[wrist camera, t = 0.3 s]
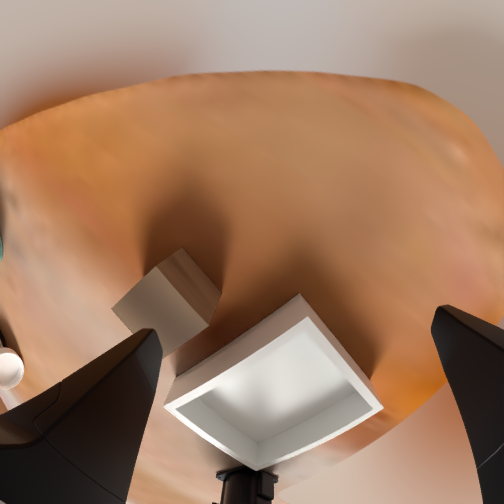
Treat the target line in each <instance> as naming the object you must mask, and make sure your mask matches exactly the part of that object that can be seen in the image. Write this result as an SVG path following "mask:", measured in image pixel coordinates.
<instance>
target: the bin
mask: <svg viewBox="0 0 504 504" xmlns="http://www.w3.org/2000/svg"><path fill="white" fill-rule="evenodd" d="M163 407H164V408H165V409H167V410H168V411H169V412H170V413H171V414H173V415H174V416H175V417H176V418H178V419H179V420H180V421H181V422H183V423H184V424H185V425H187V426H188V427H189V428H191V429H192V430H193V431H195V432H196V433H197V434H199V435H200V436H202V437H203V438H204V439H206V440H207V441H209V442H210V443H212V444H213V445H215V446H216V447H218V448H219V449H221V450H222V451H224V452H225V453H227V454H228V455H230V456H231V457H233V458H235V459H236V460H238V461H240V462H241V463H243V464H245V465H246V466H248V467H250V468H252V469H253V470H255V471H258V470H260V469H263V468H266V467H269V466H271V465H274V464H277V463H279V462H282V461H284V460H287V459H289V458H292V457H294V456H296V455H299V454H301V453H303V452H305V451H308V450H310V449H312V448H314V447H316V446H318V445H320V444H322V443H324V442H326V441H328V440H330V439H332V438H334V437H336V436H338V435H340V434H342V433H343V432H345V431H347V430H349V429H350V428H352V427H354V426H356V425H357V424H359V423H361V422H362V421H364V420H366V419H367V418H369V417H371V416H372V415H374V414H375V413H377V412H378V411H380V410H381V409H383V408H384V407H383V405H382V403H381V401H380V399H379V397H378V395H377V393H376V391H375V389H374V387H373V385H372V384H371V382H370V380H369V379H368V377H367V376H366V375H365V374H364V372H363V371H362V370H361V369H360V367H359V366H358V365H357V364H356V362H355V361H354V360H353V359H352V357H351V356H350V355H349V354H348V352H347V351H346V350H345V349H344V347H343V346H342V345H341V344H340V342H339V341H338V340H337V339H336V337H335V336H334V335H333V334H332V332H331V331H330V330H329V329H328V328H327V326H326V325H325V324H324V323H323V321H322V320H321V319H320V318H319V316H318V315H317V314H316V313H315V311H314V310H313V309H312V308H311V307H310V305H309V304H308V303H307V302H306V300H305V299H304V298H303V297H302V295H301V294H300V293H299V294H298V295H296V296H295V297H294V298H292V299H291V300H290V301H288V302H287V303H285V304H284V305H283V306H281V307H280V308H279V309H277V310H276V311H274V312H273V313H272V314H270V315H269V316H268V317H266V318H265V319H263V320H262V321H261V322H259V323H258V324H256V325H255V326H253V327H252V328H251V329H249V330H248V331H246V332H245V333H243V334H242V335H240V336H239V337H238V338H236V339H235V340H233V341H232V342H230V343H229V344H227V345H226V346H224V347H223V348H221V349H220V350H218V351H217V352H215V353H214V354H212V355H211V356H209V357H208V358H206V359H204V360H203V361H201V362H200V363H198V364H197V365H195V366H194V367H192V368H190V369H189V370H187V371H186V372H184V373H182V374H181V375H179V376H178V377H176V378H175V380H174V382H173V385H172V387H171V389H170V391H169V394H168V396H167V398H166V400H165V403H164V405H163Z"/></svg>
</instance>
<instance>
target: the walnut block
mask: <svg viewBox="0 0 504 504" xmlns="http://www.w3.org/2000/svg"><path fill="white" fill-rule="evenodd" d="M221 294H222V293H221V291H220V290H219V289H218V288H217V287H216V286H215V285H214V284H213V282H212V281H211V280H210V279H209V278H208V277H207V276H206V274H205V273H204V272H203V271H202V270H201V269H200V267H199V266H198V265H197V264H196V263H195V262H194V260H193V259H192V258H191V257H190V256H189V255H188V253H187V252H186V251H185V250H184V249H183V247H182V248H180V249H179V250H177V251H176V252H175V253H173V254H172V255H170V256H169V257H168V258H166V259H165V260H163V261H162V262H161V263H159V264H158V265H156V266H155V267H154V268H153V269H152V270H151V271H150V272H149V273H148V274H147V275H146V276H145V277H143V278H142V279H141V280H140V281H139V282H138V283H137V284H136V285H135V286H134V287H133V288H132V289H131V290H130V291H129V292H128V293H127V294H126V295H125V296H124V297H123V298H122V299H121V300H120V301H119V302H118V303H117V304H116V305H115V306H114V307H113V308H112V310H113V312H114V313H115V314H116V315H117V316H118V317H119V318H120V320H121V321H122V322H123V323H124V324H125V325H126V326H127V328H128V329H129V330H130V331H131V332H132V333H133V334H134V333H136V332H137V331H139V330H140V329H142V328H153V329H155V330H156V332H157V334H158V337H159V340H160V343H161V346H162V349H163V357H162V359H163V358H165V357H166V356H167V355H169V354H170V353H172V352H173V351H175V350H176V349H177V348H179V347H180V346H182V345H183V344H184V343H186V342H187V341H189V340H190V339H191V338H193V337H194V336H196V335H197V334H198V333H200V332H201V331H203V330H204V329H205V328H207V327H208V326H209V325H210V322H211V320H212V317H213V315H214V312H215V309H216V307H217V304H218V302H219V299H220V297H221Z"/></svg>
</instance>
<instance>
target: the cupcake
mask: <svg viewBox="0 0 504 504" xmlns="http://www.w3.org/2000/svg"><path fill="white" fill-rule="evenodd" d="M2 255H3V245H2V240H1V237H0V261H1V259H2Z"/></svg>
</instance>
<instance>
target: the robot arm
mask: <svg viewBox="0 0 504 504" xmlns="http://www.w3.org/2000/svg"><path fill="white" fill-rule="evenodd" d="M431 334H432V337H433V340H434V343H435V345H436V348H437V351H438V354H439V357H440V361H441V364H442V367H443V370H444V372H445V375H446V377H447V380H448V382H449V384H450V387H451V389H452V392H453V395H454V397H455V400H456V403H457V405H458V408H459V411H460V414H461V416H462V420H463V422H464V426H465V429H466V432H467V435H468V438H469V442H470V445H471V449H472V452H473V456H474V460H475V464H476V468H477V473H478V477H479V483H480V488H481V493H482V499H483V504H504V330H503V329H501V328H499V327H497V326H495V325H493V324H490V323H488V322H486V321H484V320H482V319H480V318H477V317H475V316H473V315H471V314H468V313H466V312H464V311H462V310H460V309H457V308H455V307H453V306H451V305H442V306H439V307H437V309H436V311H435V315H434V319H433V322H432V325H431ZM162 357H163V349H162V346H161V343H160V340H159V337H158V334H157V332H156V330H155V329H153V328H142V329H140V330H139V331H137V332H136V333H134V334H133V335H131V336H130V337H128V338H127V339H125V340H124V341H122V342H120V343H119V344H117V345H116V346H114V347H113V348H111V349H110V350H108V351H107V352H105V353H103V354H102V355H100V356H99V357H97V358H96V359H94V360H93V361H91V362H90V363H88V364H87V365H85V366H83V367H82V368H80V369H79V370H77V371H76V372H74V373H73V374H71V375H70V376H68V377H66V378H65V379H63V380H62V382H59V383H57V384H56V385H54V386H52V387H51V388H49V389H48V390H46V391H44V392H43V393H41V394H39V395H37V396H36V397H34V398H32V399H30V400H28V401H26V402H25V403H23V404H21V405H19V406H17V407H15V408H13V409H11V410H9V411H8V412H5V413H4V414H1V415H0V504H126V503H125V502H126V500H127V495H128V491H129V487H130V483H131V479H132V475H133V471H134V467H135V463H136V460H137V456H138V452H139V448H140V445H141V441H142V438H143V434H144V431H145V427H146V424H147V420H148V417H149V414H150V410H151V407H152V404H153V400H154V397H155V393H156V388H157V383H158V377H159V372H160V367H161V362H162ZM216 478H218V479H219V480H221V481H223V488H222V495H221V502H220V504H272V500H273V499H274V483H277V482H278V479H277V478H275V477H273V476H272V475H270V474H268V473H266V472H264V471H262V470H261V469H260V470H258V471H255V470H253V469H252V468H250V467H248V466H246V465H244V466H241V467H238V468H235V469H232V470H229V471H226V472H222V473H219V474H216ZM212 504H217V503H214V502H212Z"/></svg>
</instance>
